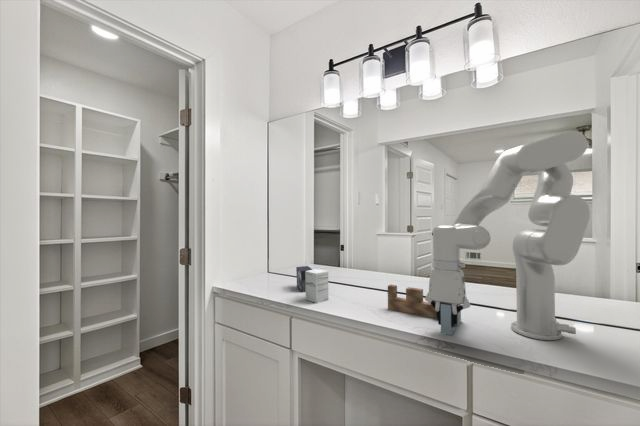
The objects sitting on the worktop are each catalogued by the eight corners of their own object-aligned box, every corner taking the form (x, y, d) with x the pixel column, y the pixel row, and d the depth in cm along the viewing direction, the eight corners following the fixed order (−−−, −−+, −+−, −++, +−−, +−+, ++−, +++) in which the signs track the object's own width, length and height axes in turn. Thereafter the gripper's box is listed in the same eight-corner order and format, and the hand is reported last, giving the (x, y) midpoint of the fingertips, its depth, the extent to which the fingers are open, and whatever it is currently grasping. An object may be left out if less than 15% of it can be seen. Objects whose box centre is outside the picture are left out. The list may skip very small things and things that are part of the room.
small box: (295, 287, 149) (295, 266, 149) (308, 286, 151) (308, 265, 151) (300, 292, 139) (300, 270, 139) (314, 291, 141) (313, 269, 141)
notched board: (444, 317, 104) (443, 292, 104) (442, 319, 102) (441, 293, 102) (390, 307, 116) (390, 284, 115) (387, 309, 113) (387, 285, 113)
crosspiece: (460, 321, 100) (460, 294, 100) (451, 335, 89) (450, 305, 89) (451, 319, 102) (451, 293, 102) (440, 333, 91) (440, 303, 91)
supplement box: (305, 300, 127) (304, 270, 127) (317, 296, 132) (317, 268, 132) (316, 303, 121) (315, 273, 121) (329, 300, 126) (328, 270, 126)
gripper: (478, 266, 89) (478, 326, 89) (423, 261, 99) (424, 315, 99) (473, 270, 83) (474, 335, 83) (416, 264, 93) (416, 322, 93)
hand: (447, 324), depth 91 cm, fingers closed on crosspiece, 3 cm apart
